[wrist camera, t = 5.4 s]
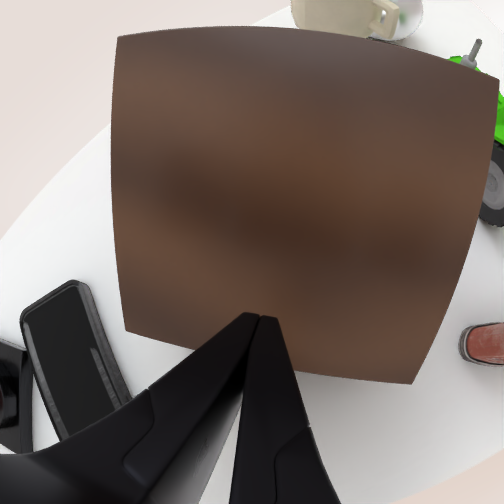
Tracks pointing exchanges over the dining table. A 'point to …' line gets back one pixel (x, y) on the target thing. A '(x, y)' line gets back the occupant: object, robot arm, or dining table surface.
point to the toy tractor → (500, 170)
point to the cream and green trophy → (346, 16)
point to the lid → (296, 190)
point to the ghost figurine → (404, 19)
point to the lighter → (483, 344)
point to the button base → (15, 398)
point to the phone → (72, 359)
